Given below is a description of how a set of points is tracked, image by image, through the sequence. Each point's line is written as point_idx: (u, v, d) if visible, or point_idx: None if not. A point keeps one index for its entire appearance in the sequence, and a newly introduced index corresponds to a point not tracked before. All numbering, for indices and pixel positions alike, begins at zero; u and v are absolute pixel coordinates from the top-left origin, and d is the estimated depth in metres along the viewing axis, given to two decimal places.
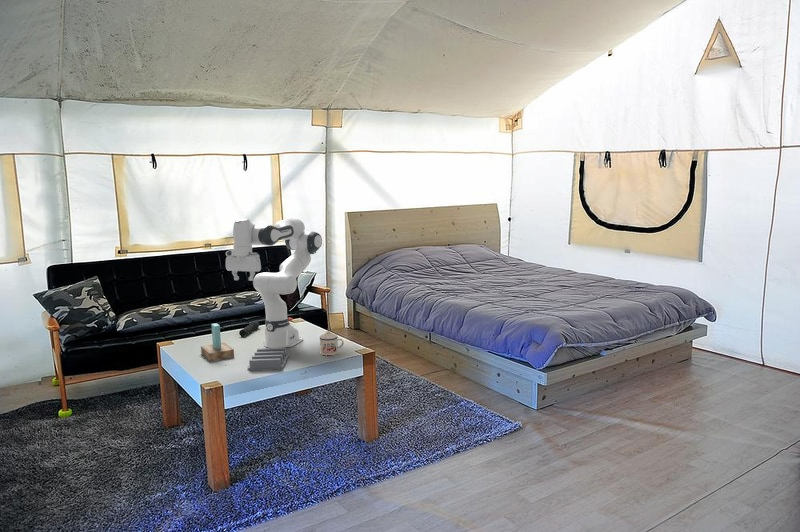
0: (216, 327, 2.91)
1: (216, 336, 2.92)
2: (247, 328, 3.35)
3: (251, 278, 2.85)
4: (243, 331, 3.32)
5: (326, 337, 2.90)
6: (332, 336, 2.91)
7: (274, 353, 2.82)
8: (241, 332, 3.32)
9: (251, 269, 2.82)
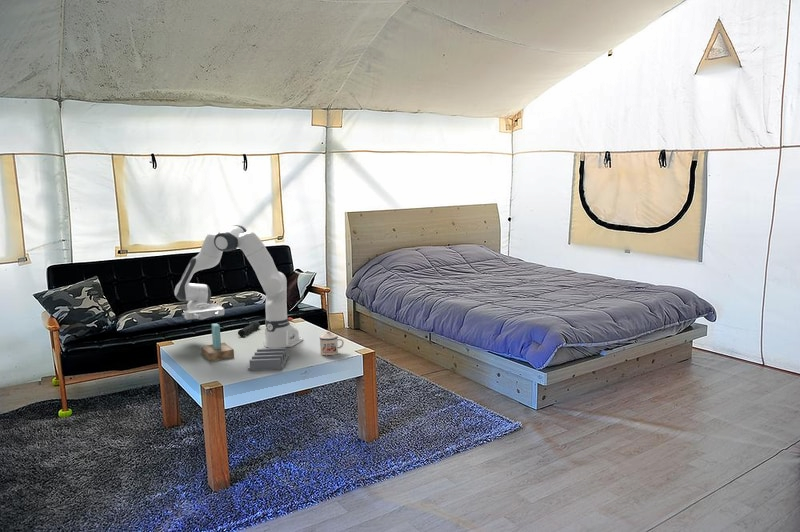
0: (216, 327, 2.91)
1: (216, 336, 2.92)
2: (246, 328, 3.35)
3: (197, 317, 3.01)
4: (242, 331, 3.32)
5: (326, 337, 2.90)
6: (332, 336, 2.91)
7: (274, 353, 2.82)
8: (240, 332, 3.32)
9: (191, 318, 3.04)
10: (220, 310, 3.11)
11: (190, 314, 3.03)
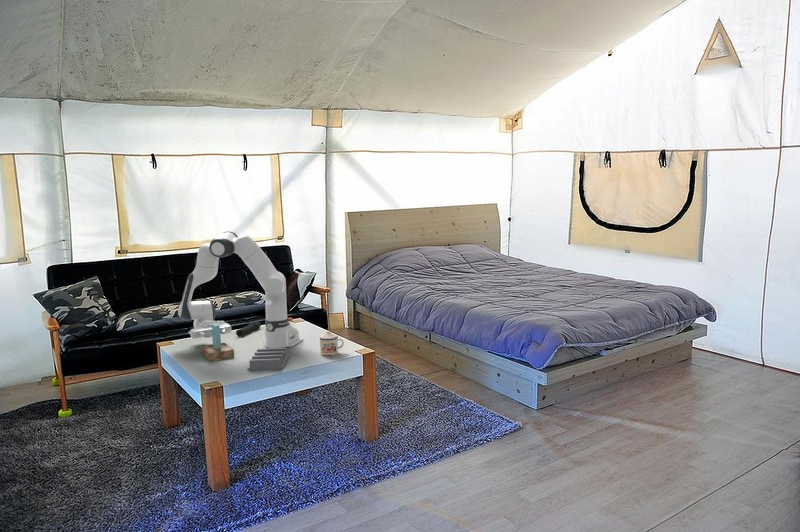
0: (216, 327, 2.91)
1: (216, 336, 2.92)
2: (245, 328, 3.35)
3: (203, 335, 2.95)
4: (240, 331, 3.32)
5: (326, 337, 2.90)
6: (332, 336, 2.91)
7: (274, 353, 2.82)
8: (238, 332, 3.32)
9: None
10: (227, 328, 3.05)
11: (196, 333, 2.97)
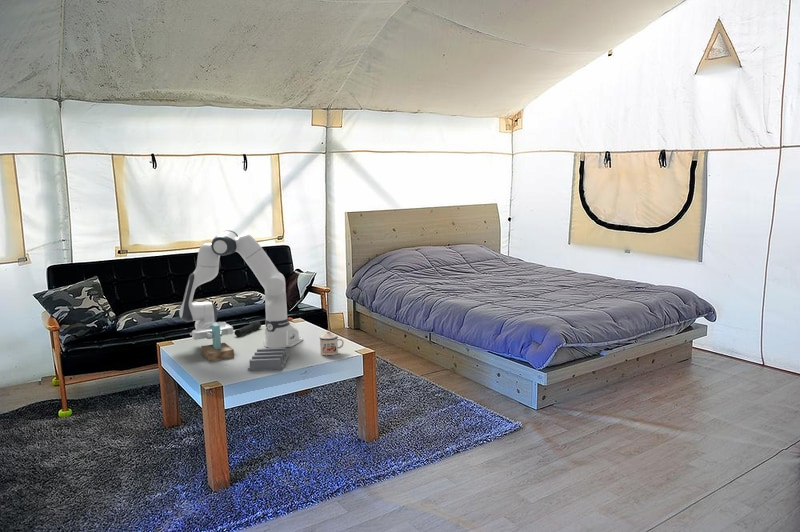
0: (216, 327, 2.91)
1: (216, 336, 2.92)
2: (243, 328, 3.35)
3: (210, 336, 2.93)
4: (238, 331, 3.32)
5: (326, 337, 2.90)
6: (332, 336, 2.91)
7: (274, 353, 2.82)
8: (236, 332, 3.32)
9: None
10: (229, 329, 3.02)
11: (198, 334, 2.93)
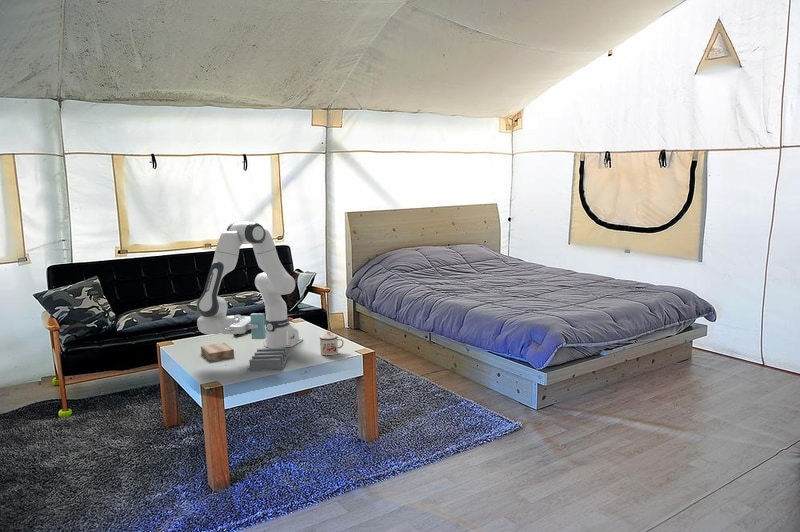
0: (263, 315, 2.77)
1: (263, 325, 2.77)
2: None
3: (255, 326, 2.76)
4: None
5: (326, 337, 2.90)
6: (332, 336, 2.91)
7: (274, 353, 2.82)
8: None
9: None
10: None
11: (244, 327, 2.71)
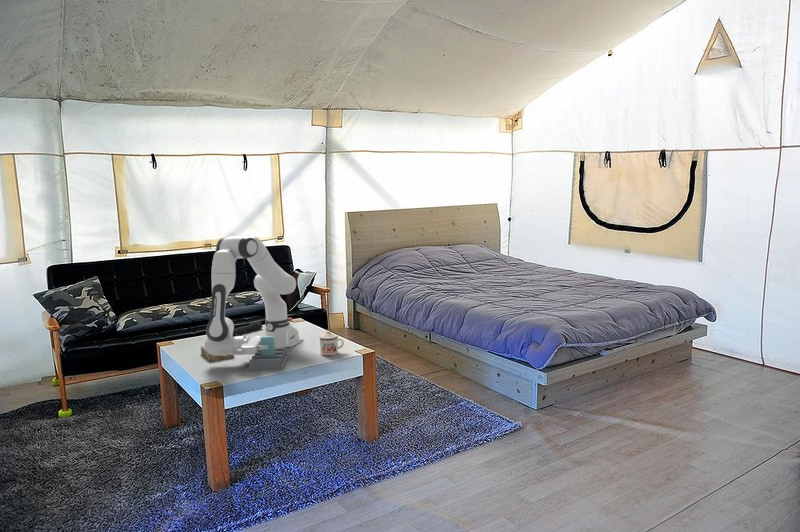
0: (273, 338, 2.79)
1: (274, 347, 2.79)
2: (240, 328, 3.36)
3: (265, 347, 2.75)
4: (233, 331, 3.33)
5: (326, 337, 2.90)
6: (332, 336, 2.91)
7: None
8: None
9: None
10: None
11: (256, 347, 2.72)
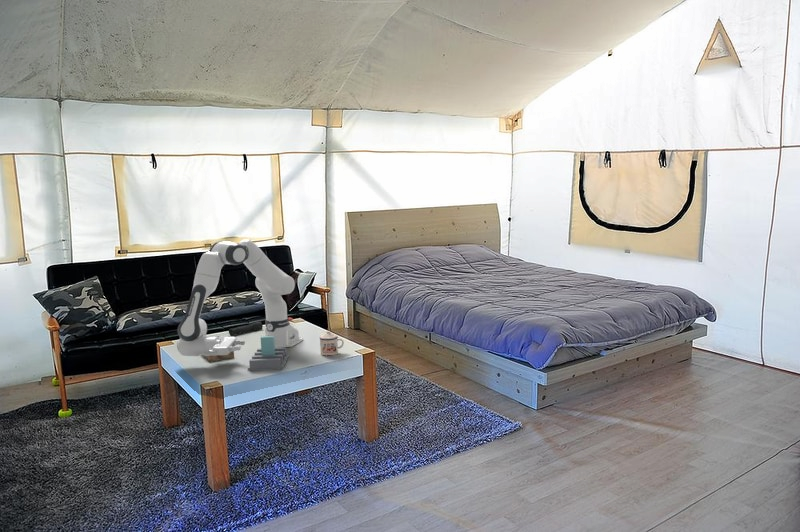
0: (273, 338, 2.79)
1: (274, 347, 2.79)
2: (238, 328, 3.36)
3: (237, 349, 2.74)
4: (232, 330, 3.34)
5: (326, 337, 2.90)
6: (332, 336, 2.91)
7: None
8: (230, 331, 3.35)
9: None
10: (236, 339, 2.86)
11: (228, 348, 2.71)
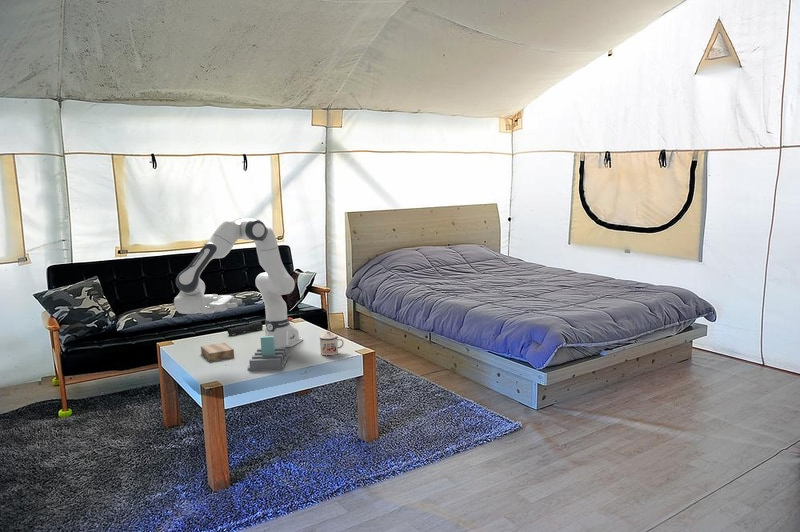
0: (273, 338, 2.79)
1: (274, 347, 2.79)
2: (237, 328, 3.37)
3: (234, 306, 2.71)
4: (230, 330, 3.34)
5: (326, 337, 2.90)
6: (332, 336, 2.91)
7: None
8: (229, 331, 3.35)
9: None
10: (233, 298, 2.83)
11: (225, 304, 2.68)
